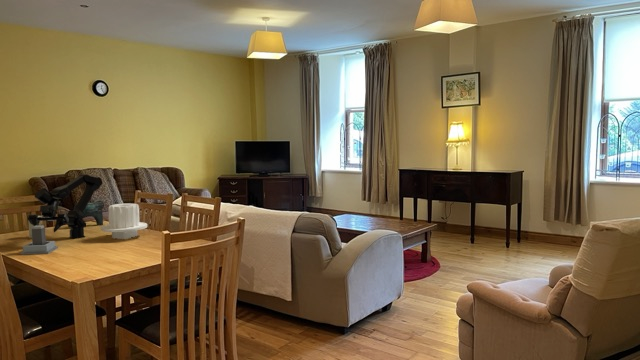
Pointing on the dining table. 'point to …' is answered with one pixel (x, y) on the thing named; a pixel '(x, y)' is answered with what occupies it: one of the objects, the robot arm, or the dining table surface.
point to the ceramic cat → (94, 211)
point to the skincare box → (32, 226)
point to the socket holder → (39, 248)
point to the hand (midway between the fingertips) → (44, 232)
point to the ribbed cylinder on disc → (123, 221)
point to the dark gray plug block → (38, 235)
